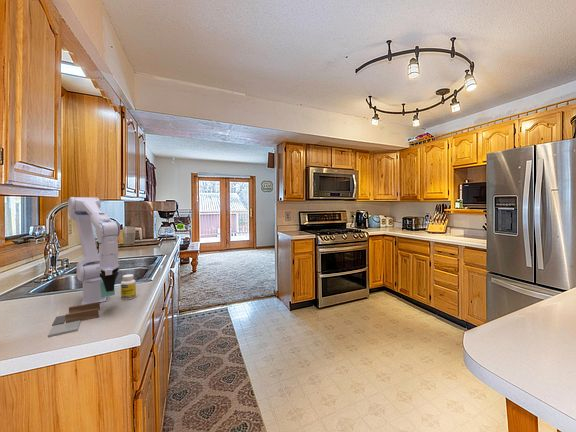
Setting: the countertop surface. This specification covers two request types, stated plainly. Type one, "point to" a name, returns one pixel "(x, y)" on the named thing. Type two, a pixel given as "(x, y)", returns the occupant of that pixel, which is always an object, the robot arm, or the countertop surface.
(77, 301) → the countertop surface
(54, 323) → the mat
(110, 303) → the countertop surface
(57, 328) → the tile
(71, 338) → the countertop surface
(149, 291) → the countertop surface
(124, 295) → the supplement bottle
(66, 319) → the channel
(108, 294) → the block
